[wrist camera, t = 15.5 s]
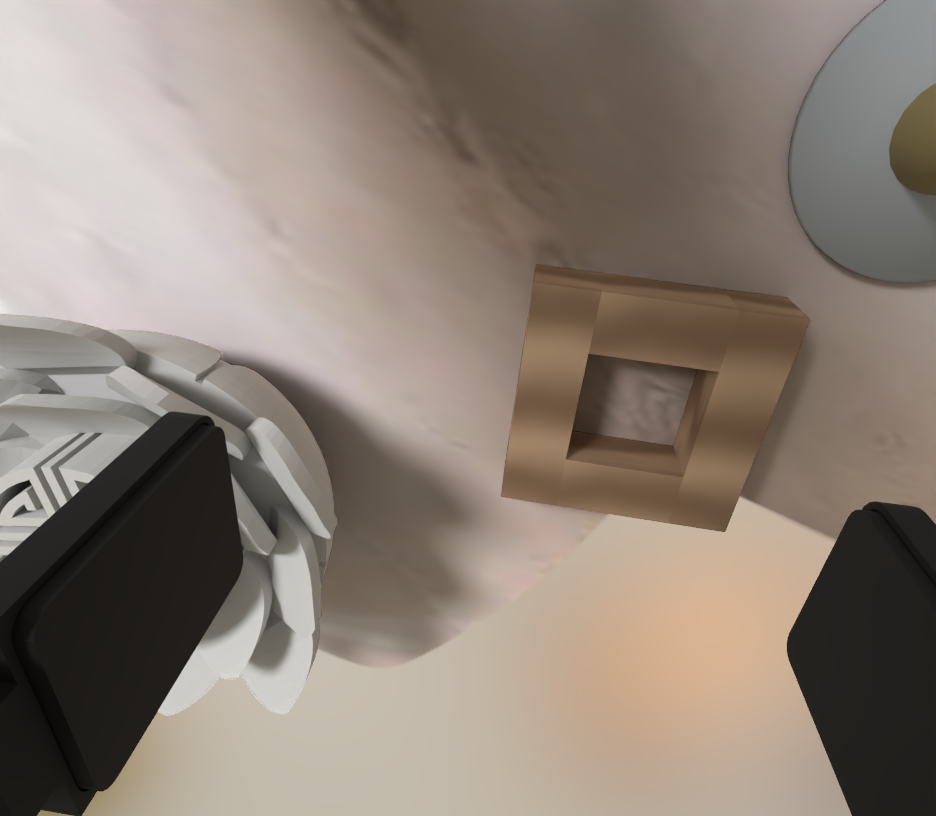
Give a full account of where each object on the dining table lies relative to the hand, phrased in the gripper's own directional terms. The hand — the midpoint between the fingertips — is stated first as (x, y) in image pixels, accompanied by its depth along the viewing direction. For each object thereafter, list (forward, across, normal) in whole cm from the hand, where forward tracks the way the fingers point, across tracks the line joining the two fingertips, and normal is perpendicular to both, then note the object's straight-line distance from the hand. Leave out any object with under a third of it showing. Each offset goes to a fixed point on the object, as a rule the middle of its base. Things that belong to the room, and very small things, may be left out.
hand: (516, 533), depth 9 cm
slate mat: (+32, -22, -5) cm, 38 cm away
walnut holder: (+31, -8, +13) cm, 35 cm away
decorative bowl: (+32, +24, +21) cm, 45 cm away
